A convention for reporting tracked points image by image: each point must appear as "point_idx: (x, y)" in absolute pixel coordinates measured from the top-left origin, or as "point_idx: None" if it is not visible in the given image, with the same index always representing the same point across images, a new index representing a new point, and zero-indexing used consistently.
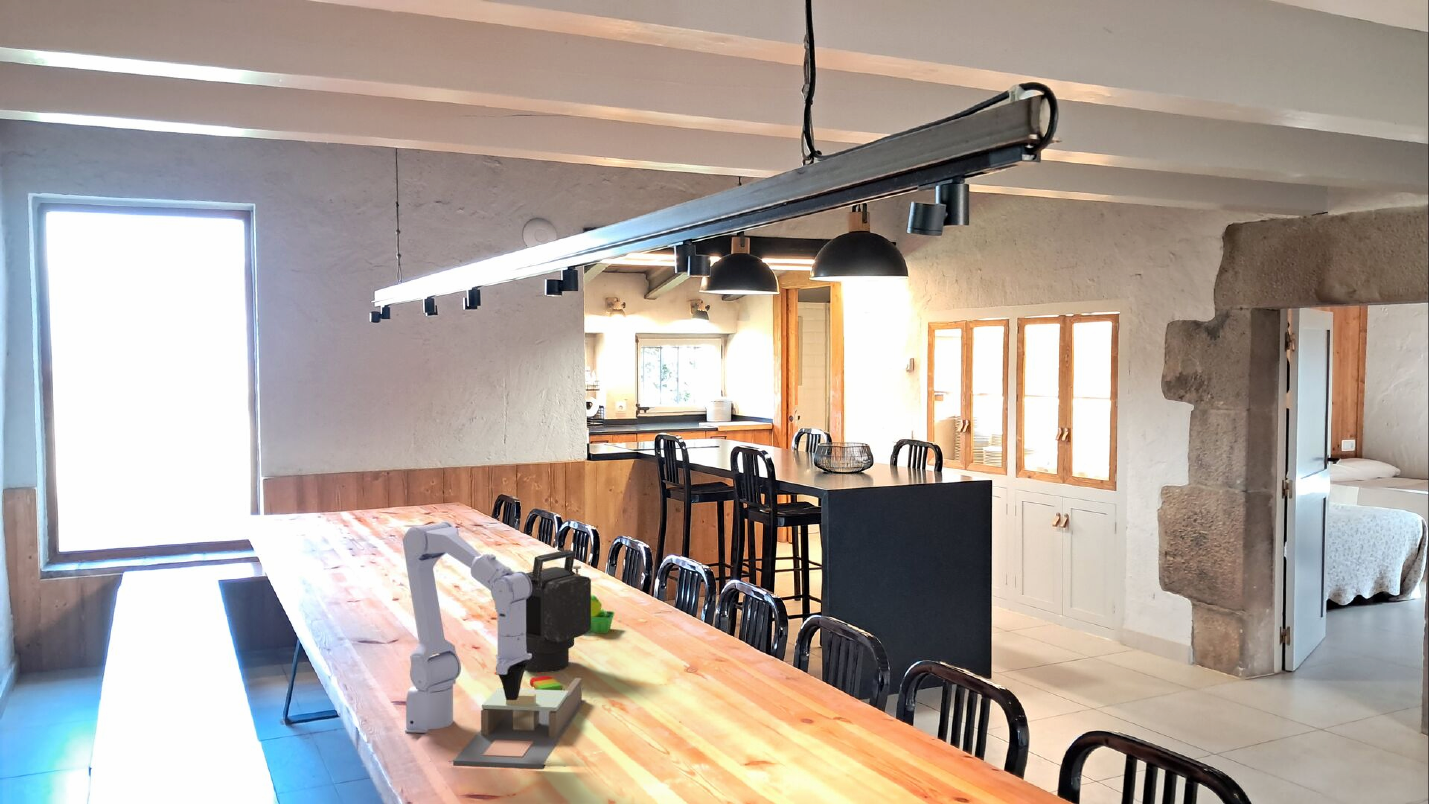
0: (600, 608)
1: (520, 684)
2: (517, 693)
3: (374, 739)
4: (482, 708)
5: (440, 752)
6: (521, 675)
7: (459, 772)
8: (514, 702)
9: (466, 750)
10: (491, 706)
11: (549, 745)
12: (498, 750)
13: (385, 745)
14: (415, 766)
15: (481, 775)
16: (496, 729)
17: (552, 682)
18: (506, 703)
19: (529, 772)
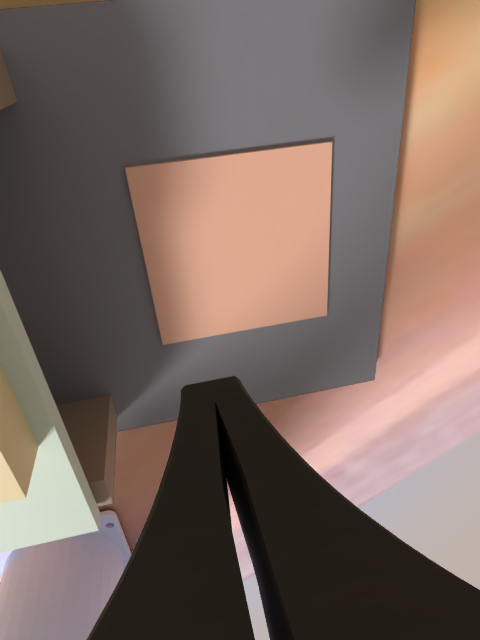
0: None
1: (181, 466)
2: (248, 404)
3: None
4: (98, 511)
5: None
6: (235, 561)
7: (419, 326)
8: (15, 416)
9: (283, 386)
10: (84, 490)
11: (141, 45)
12: (275, 280)
13: (240, 568)
14: (372, 449)
15: (449, 246)
16: None
17: None
18: (35, 449)
19: (434, 48)
